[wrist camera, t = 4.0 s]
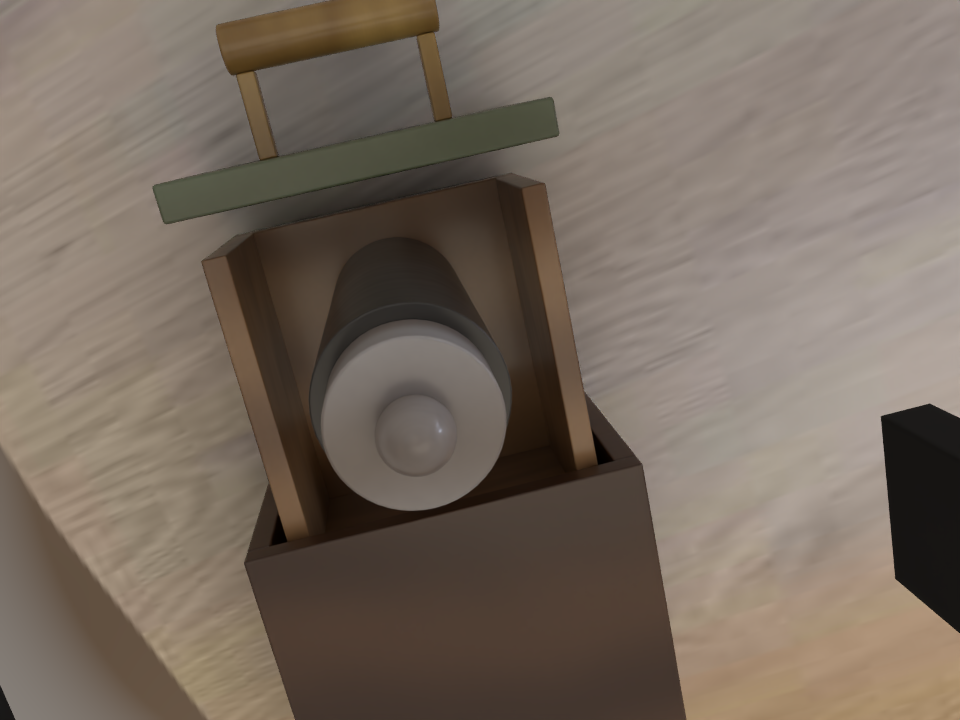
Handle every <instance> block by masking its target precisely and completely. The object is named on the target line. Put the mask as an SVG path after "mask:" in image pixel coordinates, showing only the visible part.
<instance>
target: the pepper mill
mask: <svg viewBox="0 0 960 720" xmlns="http://www.w3.org/2000/svg"><path fill="white" fill-rule="evenodd" d="M511 406H512V388H511V381H510V376H509V372H508V369H507V365H506V363H505V361H504V359H503V356H502V354H501V352H500V350H499V349H498V347H497V345H496V343H495V342H494V340H493V338H492V336H491V334H490V333H489V331H488V329H487V327H486V326H485V324H484V322H483V320H482V318H481V317H480V315H479V313H478V311H477V310H476V308H475V306H474V304H473V302H472V301H471V299H470V297H469V295H468V293H467V292H466V290H465V288H464V286H463V285H462V283H461V281H460V279H459V277H458V276H457V274H456V272H455V270H454V269H453V267H452V266H451V264H450V263H449V262H448V260H447V259H446V258H445V257H444V256H443V255H442V254H441V253H440V252H439V251H437V250H436V249H434V248H433V247H431V246H429V245H428V244H426V243H423V242H421V241H418V240H415V239H410V238H403V237H392V238H386V239H381V240H378V241H375V242H373V243H370V244H368V245H366V246H365V247H363V248H361V249H360V250H359V251H357V252H356V253H355V254H354V255H353V256H352V257H351V258H350V259H349V260H348V261H347V263H346V264H345V266H344V267H343V269H342V271H341V272H340V274H339V277H338V280H337V282H336V286H335V290H334V293H333V297H332V301H331V305H330V309H329V312H328V316H327V320H326V324H325V327H324V331H323V335H322V339H321V343H320V346H319V350H318V354H317V358H316V362H315V365H314V369H313V373H312V377H311V382H310V387H309V413H310V418H311V423H312V427H313V429H314V432H315V435H316V438H317V440H318V441H319V443H320V445H321V447H322V449H323V450H324V452H325V453H326V455H327V458H328V460H329V462H330V463H331V465H332V467H333V469H334V470H335V472H336V473H337V475H338V476H339V477H340V478H341V480H342V481H343V482H344V483H345V484H346V485H347V486H348V487H349V488H351V489H352V490H353V491H354V492H356V493H357V494H358V495H360V496H362V497H363V498H365V499H366V500H369V501H371V502H373V503H375V504H377V505H381V506H384V507H387V508H391V509H397V510H406V511H418V510H427V509H432V508H437V507H440V506H443V505H446V504H449V503H451V502H453V501H455V500H458V499H459V498H461V497H462V496H464V495H466V494H467V493H469V492H470V491H471V490H472V489H474V488H475V487H476V486H477V485H478V484H479V483H480V482H481V481H482V480H483V479H484V478H485V477H486V476H487V474H488V473H489V472H490V471H491V469H492V468H493V466H494V464H495V463H496V461H497V459H498V457H499V454H500V452H501V450H502V447H503V443H504V439H505V434H506V428H507V425H508V422H509V418H510V413H511Z"/></svg>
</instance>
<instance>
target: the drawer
mask: <svg viewBox="0 0 960 720" xmlns="http://www.w3.org/2000/svg"><path fill="white" fill-rule="evenodd" d="M437 31H439V18H438V11H437V6H436V1H435V0H329V1H325V2H320V3H315V4H310V5H306V6H301V7H296V8H292V9H287V10H282V11H277V12H273V13H268V14H263V15H259V16H254V17H249V18H245V19H240V20H235V21H230V22H226V23H221V24H218V25H216V35H217V40H218V44H219V48H220V51H221V55H222V58H223V61H224V63H225V66H226V68H227V70H228V72H229V73H230V75H233V76H234V75H236V77H237V81H238V85H239V88H240V92H241V95H242V99H243V102H244V106H245V110H246V113H247V117H248V120H249V124H250V128H251V131H252V135H253V138H254V142H255V146H256V149H257V153H258V156H259V159H260V161H256V162H251V163H247V164H242V165H238V166H233V167H229V168H224V169H220V170H215V171H211V172H206V173H201V174H197V175H193V176H189V177H185V178H181V179H177V180H173V181H168V182H164V183H160V184H156V185H154V186H153V192H154V195H155V198H156V201H157V204H158V207H159V211H160V214H161V217H162V220H163V222H164V224H171V223H175V222H179V221H184V220H188V219H193V218H197V217H202V216H206V215H211V214H215V213H220V212H224V211H228V210H233V209H237V208H242V207H246V206H251V205H255V204H260V203H264V202H268V201H273V200H277V199H282V198H286V197H291V196H295V195H300V194H304V193H308V192H313V191H317V190H322V189H326V188H331V187H335V186H340V185H344V184H349V183H353V182H357V181H362V180H366V179H371V178H375V177H380V176H384V175H389V174H393V173H397V172H402V171H406V170H411V169H415V168H420V167H424V166H429V165H433V164H437V163H442V162H446V161H451V160H455V159H460V158H464V157H469V156H473V155H478V154H482V153H486V152H491V151H495V150H500V149H504V148H509V147H513V146H518V145H522V144H526V143H531V142H535V141H540V140H544V139H549V138H553V137H557V136H559V128H558V123H557V117H556V112H555V106H554V101H553V98H552V97H548V98H543V99H538V100H533V101H527V102H522V103H517V104H512V105H508V106H503V107H499V108H494V109H490V110H485V111H481V112H476V113H472V114H467V115H463V116H458V117H454V118H452V112H451V108H450V103H449V98H448V94H447V89H446V84H445V80H444V75H443V70H442V66H441V61H440V56H439V51H438V47H437V42H436V37H435V33H434V32H437ZM415 36H417V38H416V40H417V45H418V49H419V54H420V58H421V63H422V67H423V72H424V77H425V81H426V86H427V90H428V95H429V99H430V104H431V108H432V113H433V118H434V121H435V122H431V123H427V124H422V125H418V126H413V127H409V128H404V129H400V130H395V131H391V132H386V133H382V134H377V135H373V136H368V137H364V138H359V139H355V140H350V141H346V142H341V143H337V144H332V145H328V146H323V147H319V148H314V149H310V150H305V151H301V152H296V153H292V154H287V155H283V156H278V155H279V154H278V151H277V147H276V143H275V140H274V136H273V132H272V129H271V125H270V121H269V118H268V114H267V110H266V107H265V103H264V99H263V96H262V92H261V88H260V85H259V81H258V77H257V74H256V72H254V71H257V70H262V69H266V68H271V67H276V66H280V65H285V64H289V63H294V62H299V61H303V60H308V59H313V58H317V57H322V56H327V55H331V54H336V53H340V52H345V51H350V50H354V49H359V48H364V47H368V46H373V45H377V44H382V43H387V42H391V41H396V40H401V39H405V38H410V37H415ZM392 237H403V238H410V239H415V240H418V241H421V242H423V243H426V244H428V245H429V246H431V247H433V248H434V249H436V250H437V251H439V252H440V253H441V254H442V255H443V256H444V257H445V258H446V259H447V260H448V262H449V263H450V264H451V266H452V267H453V269H454V270H455V272H456V274H457V276H458V277H459V279H460V281H461V283H462V285H463V286H464V288H465V290H466V292H467V293H468V295H469V297H470V299H471V301H472V302H473V304H474V306H475V308H476V310H477V311H478V313H479V315H480V317H481V318H482V320H483V322H484V324H485V326H486V327H487V329H488V331H489V333H490V334H491V336H492V338H493V340H494V342H495V343H496V345H497V347H498V349H499V350H500V352H501V354H502V356H503V359H504V361H505V363H506V365H507V369H508V372H509V376H510V381H511V388H512V406H511V413H510V418H509V422H508V425H507V428H506V434H505V439H504V443H503V447H502V450H501V452H500V454H499V457H498V459H497V461H496V463H495V464H494V466H493V468H492V469H491V471H490V472H489V473H488V474H487V476H486V477H485V478H484V479H483V480H482V481H481V482H480V483H479V484H478V485H477V486H476V487H475V488H474V489H472V490H471V491H470V492H469V493H467V494H466V495H464V496H462V497H461V498H459V499H458V500H460V499H464V498H468V497H472V496H476V495H480V494H484V493H488V492H492V491H496V490H500V489H504V488H508V487H512V486H516V485H520V484H524V483H528V482H532V481H536V480H540V479H544V478H548V477H552V476H556V475H561V474H565V473H569V472H573V471H577V470H581V469H585V468H589V467H593V466H597V465H598V463H597V458H596V452H595V447H594V442H593V436H592V431H591V426H590V420H589V415H588V410H587V404H586V399H585V394H584V388H583V383H582V378H581V372H580V367H579V362H578V356H577V351H576V346H575V340H574V335H573V330H572V324H571V319H570V314H569V308H568V303H567V298H566V292H565V287H564V282H563V276H562V271H561V266H560V261H559V255H558V250H557V245H556V239H555V234H554V229H553V223H552V218H551V213H550V207H549V202H548V197H547V191H546V186H545V183H542V182H539V181H536V180H533V179H529V178H526V177H523V176H520V175H516V174H514V173H508V174H504V175H499V176H495V177H490V178H486V179H482V180H477V181H473V182H468V183H464V184H459V185H455V186H451V187H446V188H442V189H437V190H433V191H429V192H424V193H420V194H415V195H411V196H407V197H402V198H398V199H393V200H389V201H384V202H380V203H376V204H371V205H367V206H362V207H358V208H354V209H349V210H345V211H340V212H336V213H331V214H327V215H323V216H318V217H314V218H309V219H305V220H301V221H296V222H292V223H287V224H283V225H279V226H274V227H270V228H265V229H261V230H256V231H252V232H248V233H243V234H239V235H236V236H234V237H233V238H232V239H231V240H229V241H228V242H226V243H225V244H224V245H222V246H221V247H220V248H218V249H217V250H216V251H214V252H213V253H212V254H210V255H209V256H208V257H206V258H205V259H204V260H202V261H201V263H202V266H203V269H204V273H205V276H206V279H207V282H208V286H209V289H210V292H211V295H212V299H213V302H214V305H215V308H216V312H217V315H218V318H219V321H220V325H221V328H222V331H223V334H224V338H225V341H226V344H227V347H228V351H229V354H230V357H231V360H232V364H233V367H234V370H235V373H236V377H237V380H238V383H239V386H240V390H241V393H242V396H243V399H244V403H245V406H246V409H247V412H248V416H249V419H250V422H251V425H252V429H253V432H254V435H255V438H256V442H257V445H258V448H259V451H260V455H261V458H262V461H263V464H264V468H265V471H266V474H267V477H268V481H269V484H270V487H271V490H272V494H273V497H274V500H275V503H276V507H277V510H278V513H279V516H280V520H281V523H282V526H283V529H284V533H285V536H286V539H287V542H290V541H294V540H298V539H302V538H306V537H310V536H314V535H318V534H322V533H326V532H330V531H334V530H339V529H343V528H347V527H351V526H355V525H359V524H363V523H367V522H371V521H375V520H379V519H383V518H387V517H391V516H395V515H399V514H403V513H407V512H411V511H406V510H397V509H391V508H387V507H384V506H381V505H377V504H375V503H373V502H371V501H369V500H366V499H365V498H363V497H362V496H360V495H358V494H357V493H356V492H354V491H353V490H352V489H351V488H349V487H348V486H347V485H346V484H345V483H344V482H343V481H342V480H341V478H340V477H339V476H338V475H337V473H336V472H335V470H334V469H333V467H332V465H331V463H330V462H329V460H328V458H327V455H326V453H325V452H324V450H323V449H322V447H321V445H320V443H319V441H318V440H317V438H316V435H315V432H314V429H313V427H312V423H311V418H310V413H309V387H310V382H311V377H312V373H313V369H314V365H315V362H316V358H317V354H318V350H319V346H320V343H321V339H322V335H323V331H324V327H325V324H326V320H327V316H328V312H329V309H330V305H331V301H332V297H333V293H334V290H335V286H336V282H337V280H338V277H339V274H340V272H341V271H342V269H343V267H344V266H345V264H346V263H347V261H348V260H349V259H350V258H351V257H352V256H353V255H354V254H355V253H356V252H357V251H359V250H360V249H361V248H363V247H365V246H366V245H368V244H370V243H373V242H375V241H378V240H381V239H386V238H392ZM455 501H456V500H455Z"/></svg>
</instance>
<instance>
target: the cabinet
mask: <svg viewBox="0 0 960 720" xmlns="http://www.w3.org/2000/svg"><path fill="white" fill-rule="evenodd" d="M584 394H585V399H586V404H587V410H588V415H589V420H590V426H591V431H592V436H593V442H594V447H595V452H596V458H597V463H598V465H597V466H593V467H589V468H585V469H581V470H577V471H573V472H569V473H565V474H561V475H556V476H552V477H548V478H544V479H540V480H536V481H532V482H528V483H524V484H520V485H516V486H512V487H508V488H504V489H500V490H496V491H492V492H488V493H484V494H480V495H476V496H472V497H468V498H464V499H460V500H456V501H453V502H451V503H449V504H446V505H443V506H440V507H437V508H432V509H427V510H418V511H411V512H407V513H403V514H399V515H395V516H391V517H387V518H383V519H379V520H375V521H371V522H367V523H363V524H359V525H355V526H351V527H347V528H343V529H339V530H334V531H330V532H326V533H322V534H318V535H314V536H310V537H306V538H302V539H298V540H294V541H290V542H287V539H286V536H285V533H284V529H283V526H282V523H281V520H280V516H279V513H278V510H277V507H276V503H275V500H274V497H273V494H272V490H271V487H270V484H269V483H268V487H267V490H266V493H265V496H264V500H263V503H262V506H261V509H260V513H259V516H258V519H257V523H256V526H255V529H254V532H253V536H252V539H251V542H250V545H249V549H248V553H247V555H246V558H245V562H244V565H245V568H246V571H247V574H248V577H249V580H250V583H251V586H252V589H253V592H254V595H255V599H256V602H257V605H258V608H259V611H260V614H261V617H262V620H263V623H264V626H265V629H266V632H267V635H268V638H269V641H270V645H271V648H272V651H273V654H274V657H275V660H276V663H277V666H278V669H279V672H280V675H281V678H282V681H283V684H284V687H285V690H286V694H287V697H288V700H289V703H290V706H291V709H292V712H293V715H294V718H295V720H686V715H685V709H684V703H683V697H682V691H681V686H680V680H679V674H678V668H677V662H676V656H675V651H674V645H673V639H672V633H671V627H670V621H669V616H668V610H667V604H666V598H665V592H664V587H663V581H662V575H661V569H660V563H659V557H658V552H657V546H656V540H655V534H654V528H653V522H652V517H651V511H650V505H649V499H648V493H647V488H646V482H645V476H644V470H643V465H642V463H641V462H640V461H639V459H638V458H637V457H636V456H635V454H634V453H633V452H632V451H631V449H630V448H629V447H628V446H627V444H626V443H625V442H624V441H623V439H622V438H621V437H620V436H619V434H618V433H617V432H616V431H615V429H614V428H613V427H612V426H611V424H610V423H609V422H608V421H607V419H606V418H605V417H604V416H603V414H602V413H601V412H600V411H599V409H598V408H597V407H596V406H595V404H594V403H593V402H592V401H591V399H590V398H589V397H588V396H587V394H586V393H585V392H584Z"/></svg>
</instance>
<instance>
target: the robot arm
mask: <svg viewBox="0 0 960 720" xmlns="http://www.w3.org/2000/svg"><path fill="white" fill-rule="evenodd" d="M881 422H882V434H883V445H884V456H885V467H886V479H887V490H888V501H889V512H890V524H891V535H892V546H893V557H894V569H895V579H896V580H897V581H899V582H900V583H901V584H902V585H903V586H905V587H906V588H907V589H908V590H909V591H910V592H912V593H913V594H914V595H915V596H916V597H917V598H919V599H920V600H921V601H922V602H923V603H925V604H926V605H927V606H928V607H929V608H930V609H932V610H933V611H934V612H935V613H936V614H938V615H939V616H940V617H941V618H942V619H943V620H945V621H946V622H947V623H948V624H949V625H951V626H952V627H953V628H954V629H955V630H956V631H958V632H959V633H960V418H959V417H956V416H954V415H952V414H950V413H948V412H946V411H944V410H942V409H940V408H938V407H936V406H934V405H932V404H926V405H923V406H919V407H915V408H911V409H907V410H903V411H899V412H895V413H891V414H887V415H883V416H881ZM0 720H15V718H14V715H13V713H12V711H11V709H10V706H9V704H8V702H7V700H6V698H5V695H4V693H3V691H2V688H1V686H0Z"/></svg>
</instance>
